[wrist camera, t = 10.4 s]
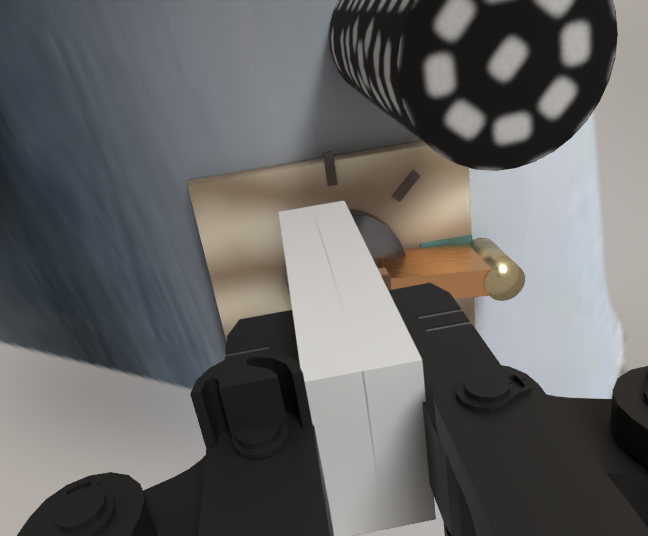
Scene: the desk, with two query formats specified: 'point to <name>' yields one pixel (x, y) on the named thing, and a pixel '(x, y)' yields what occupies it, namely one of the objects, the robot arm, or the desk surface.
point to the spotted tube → (479, 71)
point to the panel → (315, 189)
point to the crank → (440, 263)
